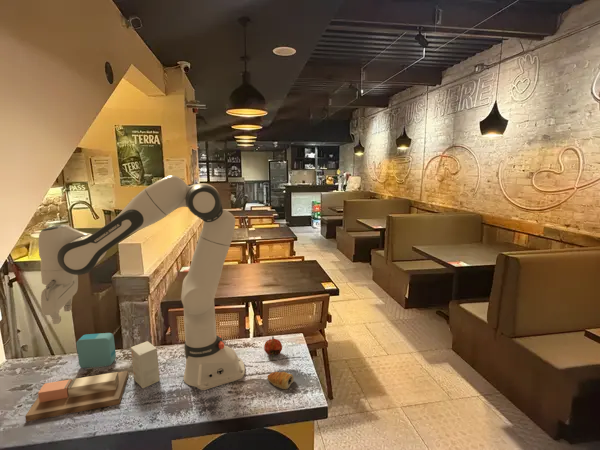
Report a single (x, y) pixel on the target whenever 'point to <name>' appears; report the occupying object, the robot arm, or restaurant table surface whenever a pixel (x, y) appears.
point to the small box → (145, 364)
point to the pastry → (281, 379)
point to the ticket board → (83, 396)
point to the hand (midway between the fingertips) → (62, 316)
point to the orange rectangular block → (54, 391)
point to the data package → (96, 350)
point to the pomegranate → (273, 347)
